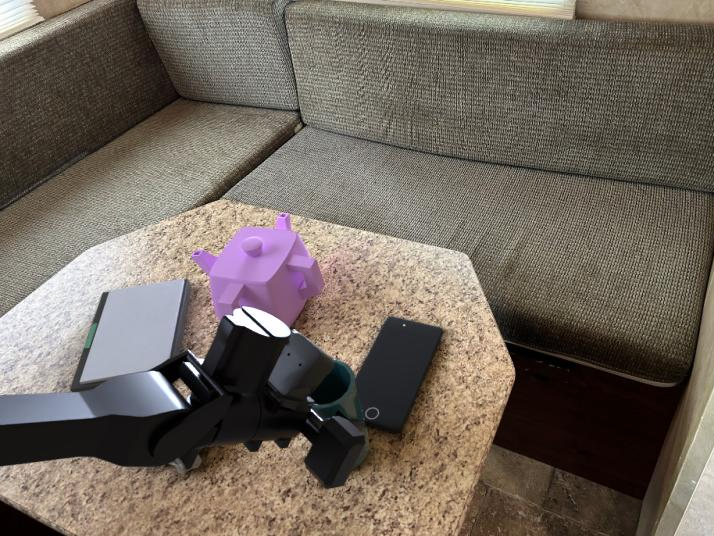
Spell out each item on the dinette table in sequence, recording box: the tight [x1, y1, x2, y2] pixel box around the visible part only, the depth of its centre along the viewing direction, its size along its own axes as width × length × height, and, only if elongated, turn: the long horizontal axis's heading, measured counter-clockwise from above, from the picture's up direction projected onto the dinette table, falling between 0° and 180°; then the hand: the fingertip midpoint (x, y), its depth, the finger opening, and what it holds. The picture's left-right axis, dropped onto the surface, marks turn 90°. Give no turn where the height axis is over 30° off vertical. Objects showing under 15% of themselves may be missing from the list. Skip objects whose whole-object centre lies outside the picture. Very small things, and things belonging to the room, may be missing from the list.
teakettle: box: [190, 212, 326, 329], centre depth 94 cm, size 17×17×12 cm
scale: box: [69, 278, 192, 392], centre depth 93 cm, size 14×20×3 cm
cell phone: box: [355, 315, 444, 435], centre depth 84 cm, size 9×18×1 cm, turn 159°
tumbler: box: [308, 358, 370, 470], centre depth 72 cm, size 7×7×13 cm
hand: (343, 408), depth 72 cm, fingers closed on tumbler, 7 cm apart
